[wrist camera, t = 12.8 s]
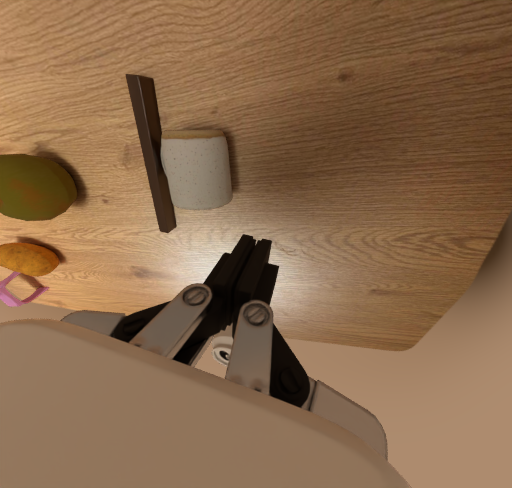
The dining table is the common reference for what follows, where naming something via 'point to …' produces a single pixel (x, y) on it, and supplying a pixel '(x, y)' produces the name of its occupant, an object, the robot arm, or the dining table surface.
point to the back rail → (152, 147)
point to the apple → (34, 188)
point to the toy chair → (8, 299)
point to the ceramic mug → (197, 168)
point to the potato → (28, 259)
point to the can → (222, 346)
